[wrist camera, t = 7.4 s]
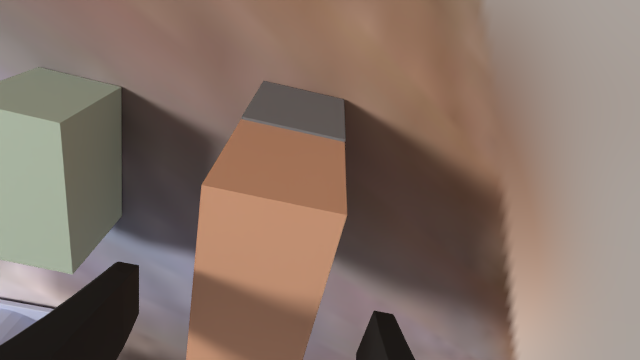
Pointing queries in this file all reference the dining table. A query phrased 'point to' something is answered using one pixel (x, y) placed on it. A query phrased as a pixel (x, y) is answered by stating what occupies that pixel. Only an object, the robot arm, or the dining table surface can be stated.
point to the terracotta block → (265, 243)
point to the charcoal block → (298, 111)
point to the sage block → (58, 167)
